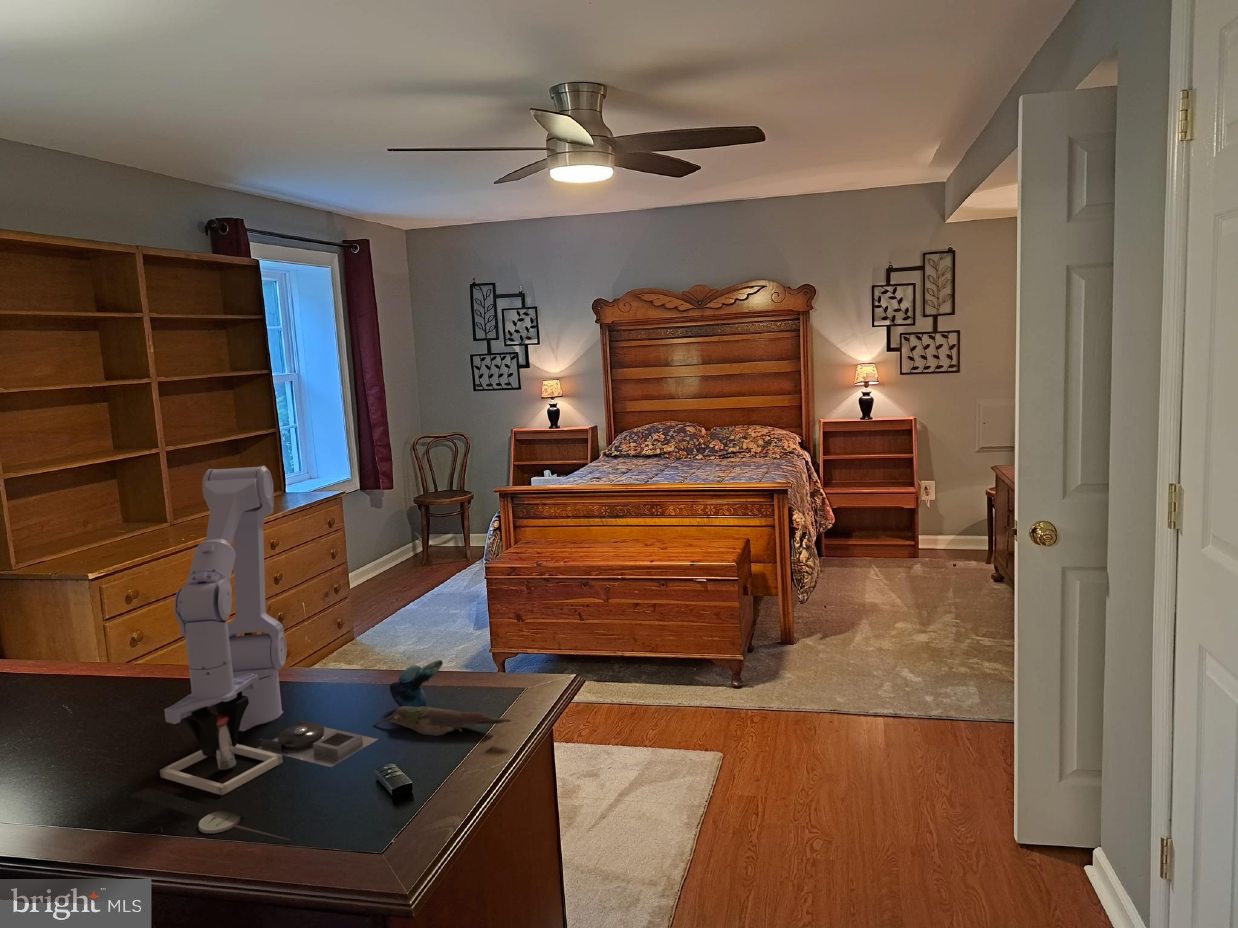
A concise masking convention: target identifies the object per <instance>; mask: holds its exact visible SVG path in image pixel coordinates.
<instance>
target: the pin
mask: <svg viewBox="0 0 1238 928" xmlns="http://www.w3.org/2000/svg"><path fill="white" fill-rule="evenodd" d="M215 714H217V715H218V717H217V722H216V732H215V737H216V747H217V752H216V756H215V757H216V762H217V766H218V770H220V771H223V770H229V769H232V768H233V767H234V766H236V764H237V759H236V756H235V753H234V751H233V746H232V741H231V736H230V731H229V726H228V721H229V720H230V716H229V713H228V712H220V713H217V712H216V713H215Z"/></svg>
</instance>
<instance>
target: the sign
mask: <svg viewBox="0 0 1238 928" xmlns="http://www.w3.org/2000/svg"><path fill="white" fill-rule="evenodd" d="M241 820H242V815H241V814H237V813H235V812H231V811H228V810H217V811H214V812H211V813H209V814H207V815H205V816H204V817H203V818H201V819H200V820H199V822H198V831H200V832H201V833H203V834H208V833H209V834H211V833H212V834H217V833H223V832H225V831H226V832H227V831H229V830H230V829H232V828H237V829H241V830H245V831H249V832H253V833H257V834H260V835H261V834H262V835H265V836H270V837H275V838H279V839H282V840H287V841H291V840H292V838H289V837H285V836H282V835H276V834H273V833H270V832H265V831H261V830H258V829H253V828H250V827H246V826H242V825H239V823H240V822H241Z"/></svg>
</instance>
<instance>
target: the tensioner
mask: <svg viewBox="0 0 1238 928" xmlns="http://www.w3.org/2000/svg"><path fill="white" fill-rule="evenodd" d="M378 740H379V739H378V738H374V737H371V736H365V735H361V734H357V733H353V732H350V731H349V732H348V731H343V730H339V729H336V728H335V729H334V728H330V727H325V726H323V725H322V724H320V723H316V722H311V721H307V720H304V719H303V720H302V719H301V720H299V721H297V725H292V726H290V727H287V728H286V729H284V730H282V731H280V732H279V733H278V735H277V737H276V738H273V739H268V738H262V739H261V740H260V743H261V744H260V746H259V747H256V748H255V749H259V750H263V751H267V752H271V753H275V754H279V755H282V757H283V756H284V757H289V758H293V759H296V760H299V761H303V762H308V763H313V764H316V765H320V766H323V767H329V768H333V767H334V766H336V765H337V764H339V763H341V762H342V761H344V760H346V759H347V758H349V757H351V756H353V755H354V754H357V753H358V752H359V751H361V750H363V749H365V748H366V747H368V746H370V745H371V744H373V743H375V742H376V741H378Z"/></svg>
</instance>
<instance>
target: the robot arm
mask: <svg viewBox="0 0 1238 928" xmlns="http://www.w3.org/2000/svg"><path fill="white" fill-rule="evenodd" d="M272 477H273V476H272V474H271V471H270V470H269V469H268V468H267V466H265V465H259V466H252V467H238V468H237V467H235V468H233V467H232V468H222V469H221V468H220V469H219V468H218V469H217V468H216V469H214V468H209V469H207V470H206V471H205V473H204V474H203V478H202V482H201V483H202V484H201V485H202V486H201V488H202V495H203V498H204V500H205V502H206V506H207V507H208V510H209V516H208V523H207V524H208V525H207V530H206V537H205V541H202V542H201V543H199V544H198V545H197V546H196V548H195V550H194V554H193V557H192V562H191V564H190V565H191V566H190V569H189V573H188V578H187V581H186V583H185V584H184V586H182V588H178V590H177V591H176V594H175V596H174V614H175V619H176V621H177V623H178V625H179V629H180V634H181V636H182V637H183V638H185V644H186V645H185V647H186V655H187V662H188V663H187V664H188V670H189V671H188V672H189V677H190V679H189V681H190V688H191V693H190V694H188V695H187V696H185V697H183V698H181V700H179V701H178V702H176V703H174V704H173V705H171V706H169V707H167V708H164V710H163V711H164V717H165V723H169V724H174V725H176V724H179V723H181V720H182V721H183V722H184V723H185V724H186V725H187V726H188V727H189V729H190V731H191V732H192V734H193V735H194V736H195V738H196V741H197V742H198V744H199V747H200V750H202V753H203V755H204V756H208V757H209V758H214V757H216V752H217V747H216V737H215V732H216V722H217V717H218V715H217V714H216V713H220V712H228V713H229V716H230V720H229V721H228V726H229V731H230V736H231V741H232V746H233V747H234V746H236V745H237V744H238V739H239V738H238V737H239V732H245V731H247V730H249V729H252V728H253V727H256V726H258V725H262V724H263V725H264V724H267V723H269V722H272V721H275V720H276V719H278V718H279V717H281V715H282V714H283V713H284V711H283V710H282V709H283V708H282V700H281V699H282V697H281V690H280V689H281V688H280V680H279V670H281V669H282V668H283V666H284V665H285V663H286V660H287V642H286V638H285V633H284V632H285V630H284V627H283V624H282V623H281V622H280V621H278V620H277V619H275V618H274V617H272V616H271V615H269V614H267V611H266V610H267V609H266V583H265V582H266V580H265V578H266V577H265V575H266V574H265V551H264V550H265V548H264V546H265V545H264V540H265V539H264V525H265V518H267V517H269V516H270V515H272V514H273V513H274V505H275V504H274V503H275V501H274V500H275V499H274V481H273V478H272ZM232 542H233V546H232ZM233 569H234V570H233ZM233 572H234V573H233ZM232 574H233V575H234V577H233V578H234V579H233V580H234V605H235V606H234V611H235V617H234V619H232V620H231V621H230V622H228V620H229V617H230V615H231V611H232V606H233V605H232V603H233V600H232V593H233V592H232V591H233V586H232V584H231V579H232ZM262 632H263V633H262ZM248 633H257V634H248ZM258 633H261V634H258ZM238 634H247V635H238ZM212 706H214V707H215V710H216V713H212V712H211V710H210V709H209V708H210V707H212ZM208 757H207V758H208Z"/></svg>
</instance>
